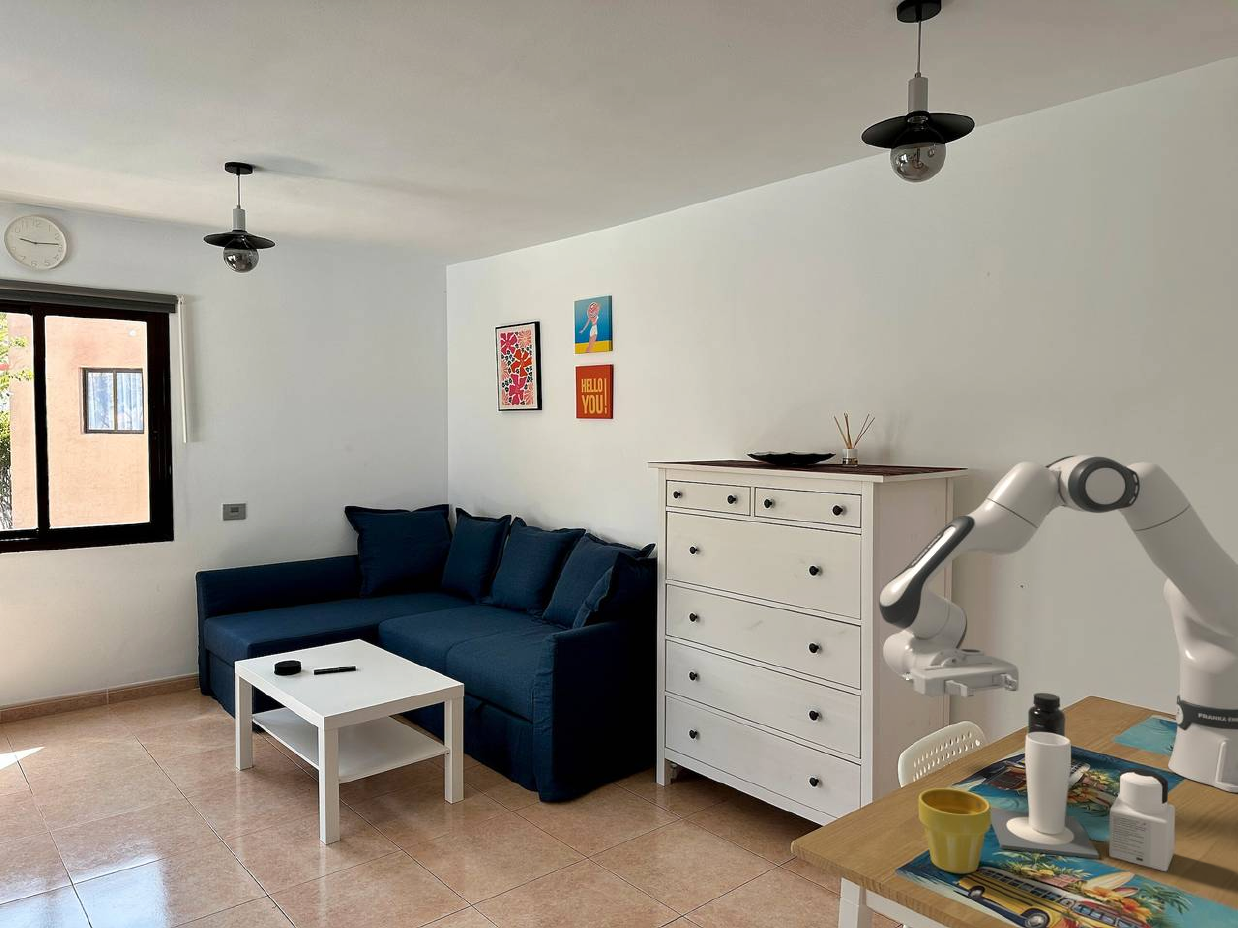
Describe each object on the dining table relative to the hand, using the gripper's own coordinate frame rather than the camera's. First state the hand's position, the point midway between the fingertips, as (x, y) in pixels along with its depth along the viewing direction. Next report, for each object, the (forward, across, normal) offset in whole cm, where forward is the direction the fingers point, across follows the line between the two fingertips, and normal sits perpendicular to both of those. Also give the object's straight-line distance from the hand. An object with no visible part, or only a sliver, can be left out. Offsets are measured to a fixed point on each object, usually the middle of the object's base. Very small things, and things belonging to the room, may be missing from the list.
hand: (992, 689), depth 155 cm
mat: (+12, -1, +21) cm, 24 cm away
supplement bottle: (-18, +27, +21) cm, 39 cm away
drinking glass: (+12, +1, +20) cm, 23 cm away
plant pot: (+16, -21, +20) cm, 33 cm away
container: (+22, +9, +21) cm, 32 cm away
